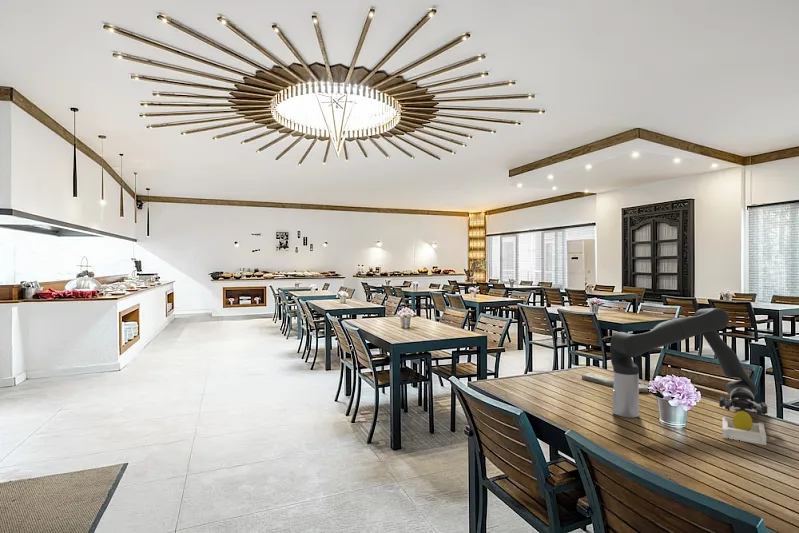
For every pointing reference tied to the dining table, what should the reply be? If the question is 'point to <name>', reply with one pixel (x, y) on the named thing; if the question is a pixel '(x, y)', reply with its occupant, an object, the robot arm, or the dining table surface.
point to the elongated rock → (609, 381)
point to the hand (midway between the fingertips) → (743, 410)
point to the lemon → (742, 421)
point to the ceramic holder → (744, 432)
